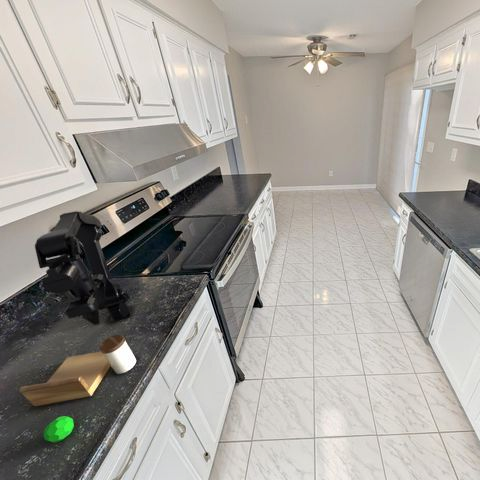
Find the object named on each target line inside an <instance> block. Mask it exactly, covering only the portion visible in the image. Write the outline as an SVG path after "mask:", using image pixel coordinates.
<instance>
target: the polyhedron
mask: <svg viewBox="0 0 480 480" xmlns="http://www.w3.org/2000/svg"><path fill="white" fill-rule="evenodd" d="M74 423H75V422H74V419H73V418H71V417H69V416H66V415H62V416H59V417H57V418H56V419H55V418H54V420H53V421H51V422H50V423H49V424H47V425H46V426H45V429H44V431H43V438H44V440H45V441H48V442H50V443H58V442H61V441H63V440H64V439H66V438H67V436H69V435H70V434H71V433H72V431H73V429H74V428H75V424H74Z"/></svg>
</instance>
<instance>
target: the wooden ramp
mask: <svg viewBox="0 0 480 480" xmlns="http://www.w3.org/2000/svg"><path fill="white" fill-rule="evenodd" d="M110 368H111V365H110V364H109V362H108V361H107V359H106V358H105V356H104V355H103V353H101V351H96V352H90V353H83V354H78V355H72V356H71V355H70V356H67V358H65V360H64V361H63V362H62V364H61V365H60V366H59V367H58V368H57V369H56V371H55V372H53V374H52V376H50V378H49V379H48V380H47V381H46V382H42V383H36V384H31V385H25V386H21V387H20V388H19V389H18V392H19V393H21V394H22V396H23V397H25V399H27V401H29V403H31V405H32V406H33V407H39V406H45V405H50V404H55V403H60V402H65V401H71V400H77V399H82V398H87V397H92V396H93V394H94V393H95V391H96V389H97V388H98V386H99V385H100V383H101V381H102V380H103V379H104V377H105V375H106V373H108V371H109V369H110Z"/></svg>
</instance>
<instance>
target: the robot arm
mask: <svg viewBox="0 0 480 480" xmlns="http://www.w3.org/2000/svg"><path fill="white" fill-rule="evenodd" d="M102 228H103V225H102V222H101V220H100V219H99V218H98V217H97V216H95V215H93V214H88V213H84V212H82V211H78V210H74V211H70V212H64V213H61V214H59V220H58V222H57V223H56V224H55V226H54V228H53V229H52V230H51V231H50V232H47V233H45V234H43V235H41V236H40V237H38V238H37V239H36V241H35V244H34V249H35V253H36V258H37V263H38V267H39V268H40V269H44V268H47V270H46V271H45V273H46V276H45V277H44V279H43V280H42V287H43V289H44V290H45V291H47V292H48V293H46V295H45V296H44V297H43V299H42V303H43V304H44V307H46V308H57V307H58V306H59V305H60V304H61V303H63V302H65V301H67V300H68V301H70V302H69V304H68V305H67V307H66V309H65V310H64V315H65V317H66V319H74V318H82V319H84V320H86V321H87V322H89V323H91V324H92V325H94V326H96V325H99V324H100V311H102V310H105V309H106V310H107V312H108V313H109V315H110V319H109V323H110V324H113V323H115V322H119V321H121V320H124V319H128V318H130V317H131V316H132V310H133V305H130V306H128V304H127V302H128V300H130V299H131V297H130V295H129V292H128V290H126V289H125V288H122V287H121V285H120V283H119V282H117V281H115V280H114V279H112V276H111V273H110V270H109V267H108V264H107V260H106V257H105V256H104V255H105V254H104V252H103V249H102V246H101V243H100V240H101V237H102V235H103V231H102ZM80 244H81V245H82V248H83V252H84V254H85V257H86V260H87V263H88V266H89V269H90V270H88V268H87V267H86V264H85V263H84V261H83V259H82V258H81V256H80V255H81V254H82V253H81V252H82V251H81V246H80ZM75 299H78V300H75ZM72 300H74V301H72Z"/></svg>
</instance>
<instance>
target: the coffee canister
mask: <svg viewBox="0 0 480 480" xmlns="http://www.w3.org/2000/svg"><path fill="white" fill-rule="evenodd" d="M98 349H99V352H101V353H103V355H104V356H105V358H106V359H107V361H108V362H109V364H110V365H111V366H110V368H112V370H113V371H114V373H115V374H117V375H120V374H124V373H127V372H128V371H130V370H131V369H132V368H133V367H134V366H135V365H136V363H137V358H136V356H135V354H134V353H133V351H132V349H131V348H130V346H129V344H128V343H127V341H126V338H125V337H124V335H123V334H113V335H111V336H109V337H107V338H105V339H104V340H103V341H102V342H101V343H100V344H99V346H98Z"/></svg>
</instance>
